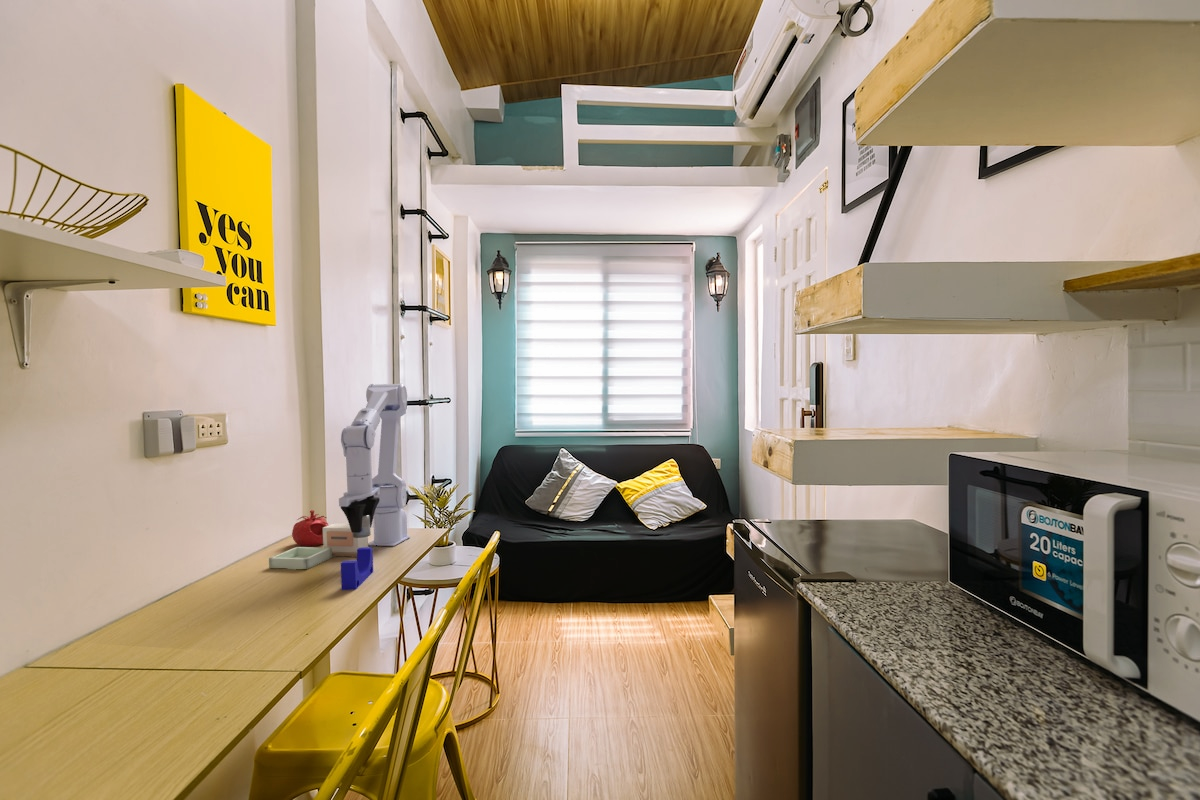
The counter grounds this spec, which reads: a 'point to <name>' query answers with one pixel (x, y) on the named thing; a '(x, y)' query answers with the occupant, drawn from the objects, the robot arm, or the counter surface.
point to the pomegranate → (309, 530)
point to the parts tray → (300, 558)
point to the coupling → (364, 527)
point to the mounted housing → (342, 540)
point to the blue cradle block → (357, 569)
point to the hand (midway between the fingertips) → (361, 529)
